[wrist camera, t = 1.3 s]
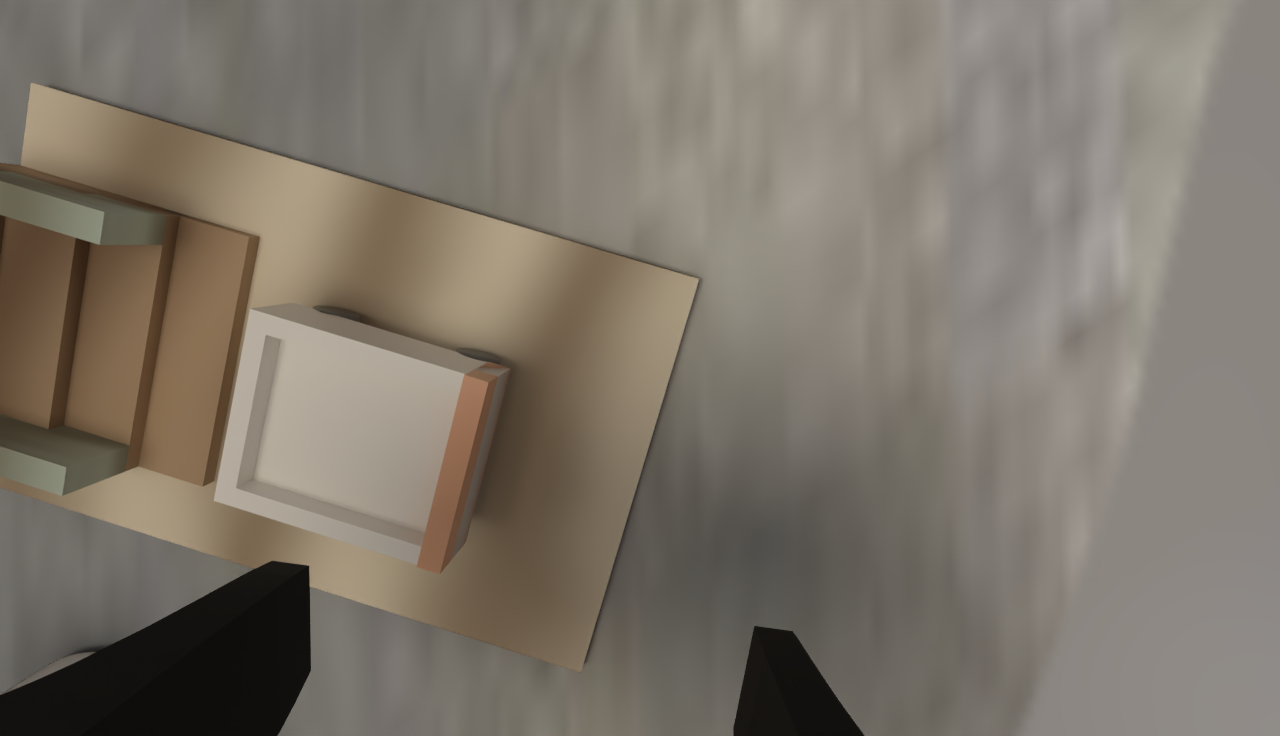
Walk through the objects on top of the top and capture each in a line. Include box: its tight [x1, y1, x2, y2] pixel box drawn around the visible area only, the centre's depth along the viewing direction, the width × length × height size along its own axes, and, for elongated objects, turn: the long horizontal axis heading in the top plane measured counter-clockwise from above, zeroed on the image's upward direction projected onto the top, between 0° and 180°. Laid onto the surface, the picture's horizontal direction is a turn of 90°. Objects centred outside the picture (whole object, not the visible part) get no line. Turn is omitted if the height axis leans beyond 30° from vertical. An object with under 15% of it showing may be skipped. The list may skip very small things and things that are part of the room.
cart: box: [214, 303, 511, 574], centre depth 19 cm, size 6×5×3 cm
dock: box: [0, 83, 699, 673], centre depth 20 cm, size 19×12×4 cm, turn 74°
